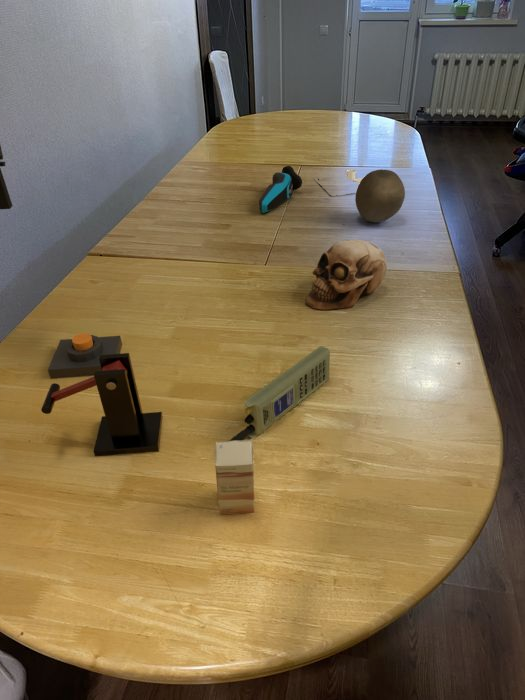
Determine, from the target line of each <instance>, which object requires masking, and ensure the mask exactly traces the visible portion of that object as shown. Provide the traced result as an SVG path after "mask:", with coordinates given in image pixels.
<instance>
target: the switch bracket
mask: <svg viewBox="0 0 525 700" xmlns="http://www.w3.org/2000/svg"><path fill="white" fill-rule="evenodd" d="M118 360H120V362H121V363H122V365H123V366H124V367H125V369H119V370H106V371H95V373H94V376H93V377H94V378H95V382H96V389H97V392H98V396H99V399H100V402H101V406H102V410H103V414H104V415H102V416H101V419H100V423H99V427H98V431H97V433H96V438H95V442H94V447H93V449H92V451H93V456H94V457H107V456H118V455H128V454H142V453H154V452H159V451H160V443H161V434H162V427H163V426H162V425H163V412H162V411H153V412H143V409H142V405H141V400H140V395H139V391H138V386H137V383H136V377H135V374H134V369H133V364H132V360H131V356H130V353H129V352H123V353H120V354H108V355H100V356H99V362H100V365H101V369H103V366H106V365H108V364H111V363H113V362H116V361H118ZM126 370H127V373H126Z"/></svg>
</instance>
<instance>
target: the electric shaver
mask: <svg viewBox="0 0 525 700" xmlns="http://www.w3.org/2000/svg"><path fill="white" fill-rule="evenodd" d="M302 186H303V179H302V177H301V176H300V175H299V174H298V173H296V171H295V169H294V168H293V167H292V166H291V165H285V166H283V168H281V172H280V171H278V172H275V173H274V174H273V175H272V183H271V184H269V185H268V186H267V187H266V188H265V190H264V191H263V193H262V194H261V195H260V198H259V202H258V206H259V212H260V213H261V214H265V213H267V212H270V211H272V210H275V209H276V208H278V207H279V206H280V205H282V204H283V203H284V202H287V201H288V200H289V199H291V198H292V195H293V192H294V191H296V190H298V189H300V188H301V187H302ZM290 197H291V198H290Z"/></svg>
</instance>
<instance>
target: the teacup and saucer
mask: <svg viewBox="0 0 525 700" xmlns="http://www.w3.org/2000/svg"><path fill="white" fill-rule="evenodd" d="M356 173H357V170H356V169H354V168H353V169H352V168H351V169H347V170H346V171H345V176H347V179H348V180H353V182H356V183H360V182H361V180H362V178H358V179H355V175H357V174H356Z"/></svg>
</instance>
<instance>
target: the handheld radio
mask: <svg viewBox="0 0 525 700" xmlns="http://www.w3.org/2000/svg"><path fill="white" fill-rule="evenodd" d="M330 353H331V351H330V349H329V348H328V347H326V346H318V347H317V348H316V349H314V350H313V351H311V352H310V353H308V354H307V355H306V356H304V358H302V359H301V360H299V361H298V362H296V363H295V364H293V365H292V366H291V367H289V368H288V369H286V370H285V371H284V372H283V373H281V374H280V375H278V376H277V377H275V378H274V379H272V381H270V382H268V383H267V384H266V385H264V386H263V387H261V388H260V389H259V390H258V391H256V392H254V393H253V394H252V395H251V396H249V397H248V398H247V399H246V401H245V402H244V403H243V406H244V407H246V408H245V409H244V413H245V414H246V415H247V416H246V417H244V422H245V424H247V426H246V427H245V428H244V429H243V430H241V431H240V432H239V433H237V434H236V435H234V436H233V437H232V438H231V439H229V440H228V441H236V440H237V441H238V440H239V441H241V440H246V439H247V438H250V440H252V439H254V438H255V437H257V436H259V435H261V434H262V433H264V432H265V431H266V430H267V429H269V428H270V427H271V426H272V425H274V424H275V423H276V422H278V420H280V419H281V418H283V416H285V415H286V414H288V412H290V411H291V410H293V408H295V407H296V406H297V405H298V404H300V403H301V402H302V401H304V400H305V399H306V398H307V397H309V396H310V395H311V394H312V393H314V392H315V391H316V390H318V389H319V388H320V387H321V386H322V385H324V384H326V382H328V381H329V380H330V363H331V362H330V360H331V359H330V357H331V355H330Z"/></svg>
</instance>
